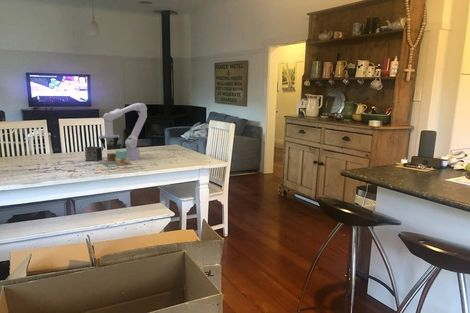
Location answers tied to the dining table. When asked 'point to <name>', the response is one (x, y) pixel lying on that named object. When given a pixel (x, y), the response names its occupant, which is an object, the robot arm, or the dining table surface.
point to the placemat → (115, 164)
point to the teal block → (121, 154)
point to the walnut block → (111, 157)
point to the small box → (93, 153)
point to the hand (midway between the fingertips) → (109, 147)
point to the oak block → (121, 161)
